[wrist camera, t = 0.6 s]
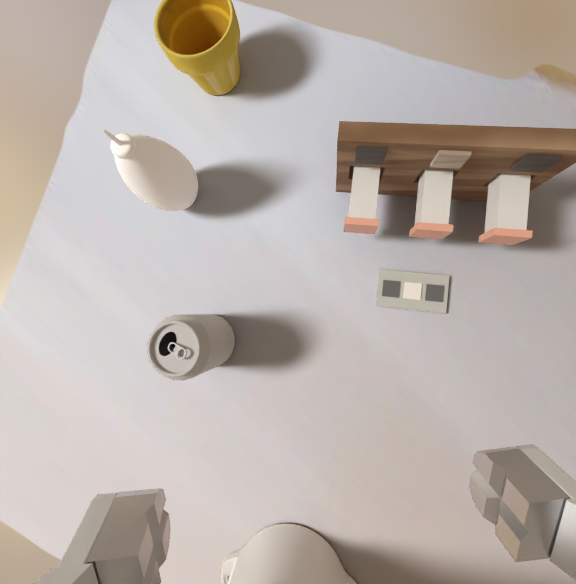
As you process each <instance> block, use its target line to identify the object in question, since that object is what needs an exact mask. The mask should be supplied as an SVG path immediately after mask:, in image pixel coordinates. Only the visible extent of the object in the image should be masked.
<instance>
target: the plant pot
mask: <svg viewBox="0 0 576 584" xmlns="http://www.w3.org/2000/svg"><path fill="white" fill-rule="evenodd" d="M154 29H155V35H156V38H157V40H158V43H159V44H160V46H161V48H162V49H163V51H164V53H165V54H166V55H167V57H168V58H169V60H170V61H171V63H172V64H173V65H174V66H175V67H176V68H177V69H178V70H180V71H181V72H183V73H185V74H188V75H189V76H190V77H191V78H192V79H193V80H194V81H195V82H196V83H197V84H198V85H199V86H200V87H201V88H202V89H203V90H204V91H205V92H207V93H208V94H211V95H223V94H226V93H228V92H229V91H231V90H232V89H233V88H234V87H235V86H236V84H237V83H238V81H239V77H240V65H239V55H238V45H239V41H240V29H239V24H238V20H237V17H236V13H235V10H234V7H233V4H232V1H231V0H163V1H162V2H161V4H160V6H159V8H158V10H157V12H156V16H155V21H154Z"/></svg>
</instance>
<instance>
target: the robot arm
mask: <svg viewBox="0 0 576 584" xmlns="http://www.w3.org/2000/svg"><path fill="white" fill-rule="evenodd" d="M473 464H474V466H475V467H476V468H477V470H476V471H475V472H474V473H473V474H472V475H471V477H470V486H469V487H470V491H471V495H472V499H473V501H474V503H475V505H476V507H477V509H478V510H479V512H480V513H481V514H482V516H483V517H484V518H486V519H487V520H489V521H490V522H492V523H493V524H495V534H496V536H497V537H498V538H499V540H500V541H501V543H502V544H503V545H504V547H505V548H506V550H507V551H508V552H509V554H510V555H511V557H512V558H513V559H514V561H515V562H520V561H529V560H538V559H547V558H550V561H551V562H553V563H554V564H555V565H557V566H558V567H559V568H560V569H562V570H563V571H564V572H566V573H567V574H568V575H570V576H571V577H572V578H574V579H575V580H576V481H575V480H574V479H573V478H572V477H571V476H570V475H568V474H567V473H566V472H565V471H564V470H563V469H562V468H561V467H559V466H558V465H557V464H556V463H555V462H554V461H553V460H552V459H550V458H549V457H548V456H547V455H546V454H545V453H544V452H543V451H542V450H540V449H539V448H538V447H536V446H534V445H532V444H531V445H523V446H515V447H506V448H499V449H491V450H483V451H477V452H476V454H475V455H474V459H473ZM165 501H166V498H165V494H164V490H163V489H161V488H160V489H149V490H138V491H127V492H119V493H109V494H98V495H97V496H96V497H95V498H94V499H93V500H92V501H91V503H90V505H89V507H88V509H87V511H86V513H85V515H84V517H83V519H82V521H81V523H80V524H79V526H78V528H77V530H76V532H75V534H74V536H73V538H72V540H71V542H70V544H69V546H68V548H67V550H66V552H65V553H64V555H63V557H62V559H61V561H60V563H59V565H58V567H57V568H51V569H49V570H48V571H47V572H46V573H45V574H43V575H42V576H41V577H40V578H39V579H38V580H37V581H36V582H35V583H34V584H160V583H161V578H160V573H159V567H160V566H161V565H162V564H163V563H164V561H165V560H166V557H167V552H168V548H169V540H170V519H169V514H168V513H167V512H166V511H165V510H163V509H164V505H165ZM229 575H230V576H229ZM221 578H222V584H357V583H356V582H355V581H354V580H353V579H352V578H351V577H350V576H349V575H348V574H347V573H346V572H345V570H344V568H343V567H342V564H341V562H340V560H339V558H338V556H337V554H336V553H335V551H334V550H333V548H332V547H331V546H330V545H329V544H328V542H327V541H326V540H324V539H323V538H322V537H321V536H320V535H318V534H317V533H315V532H314V531H312V530H310V529H308V528H306V527H303V526H300V525H295V524H277V525H273V526H269V527H267V528H265V529H263V530H261V531H260V532H258V533H257V534H256V535H254V536H253V537H252V538H251V539H250V541H249V542H248V543H247V544H246V545H245V546H244V547H243V548H242V549H241V550H239V551H237V552H235V553H232V554H230V555H229V556H227V557H226V558H225V559H224V560H223V563H222V567H221Z"/></svg>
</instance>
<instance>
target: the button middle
mask: <svg viewBox="0 0 576 584" xmlns="http://www.w3.org/2000/svg"><path fill="white" fill-rule="evenodd" d="M452 181H453V171H444V170H425V169H422V170H421V172H420V173H419V183H418V193H417V204H416V214H415V225H414V227H413V228H412V229H411V230H410V234H409V237H416V238H429V239H441V240H442V239H443V238H445V237H446V236H448V235H449V234H451V233H452V232H453V225H450V224H449V214H450V203H451V192H452Z"/></svg>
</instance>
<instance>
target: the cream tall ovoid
mask: <svg viewBox="0 0 576 584" xmlns="http://www.w3.org/2000/svg"><path fill="white" fill-rule="evenodd" d="M103 131H104V133H105V134H106V135H107V136H108V137H109V138H111V139H112V141H111V151H112V153H113V154H114V155H115V162H116V165H117V168H118V171H119V173H120V175H121V176H122V178H123V180H124V182H125V183H126V185H127V186H128V187H129V188H130V189H131V190H132V192H133V193H134V194H135V195H136V196H138V197H139V198H140V199H141V200H143V201H144V202H146V203H147V204H149V205H151V206H153V207H156V208H158V209H161V210H166V211H180V210H184V209H186V208H188V207H190V206H191V205H192V204H193V203H194V201H195V199H196V197H197V193H198V179H197V175H196V172H195V170H194V168H193V166H192V165H191V163H190V162H189V160H188V159H187V158H186V157H185V156H184V155H183V154H182V153H181V152H180V151H178V150H177V149H175V148H174V147H172V146H171V145H169V144H167V143H166V142H163V141H161V140H158V139H155V138H153V137H149V136H143V135H128V134H125V133H120V134H117V135H116V136H114V135H112V134H111V133H109V132H108V131H106V130H103Z"/></svg>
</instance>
